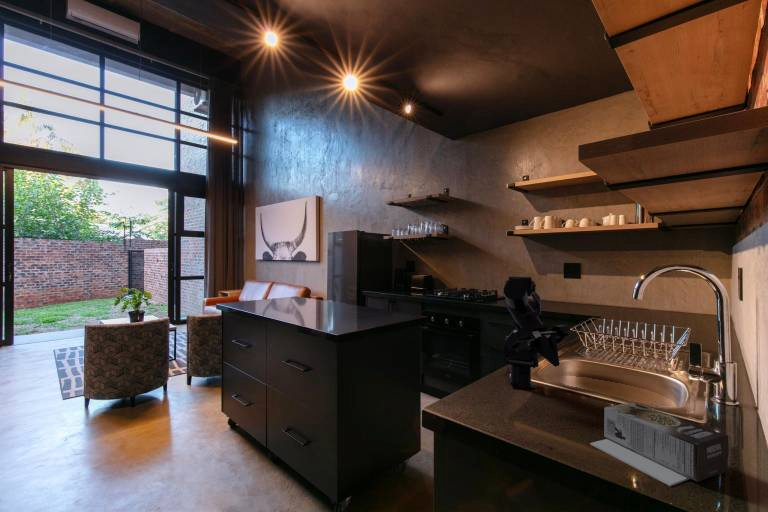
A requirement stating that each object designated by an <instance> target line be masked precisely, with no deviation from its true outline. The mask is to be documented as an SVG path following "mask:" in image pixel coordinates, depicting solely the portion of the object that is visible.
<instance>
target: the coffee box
mask: <svg viewBox="0 0 768 512" xmlns="http://www.w3.org/2000/svg"><path fill="white" fill-rule="evenodd" d="M603 412H604V415H603V416H604V417H603V418H604V420H603V422H604V425H603V426H604V427H603V429H604V431H603V432H604V433H603V434H604V435H603V436H604V437H605V439H610V440H612V441H614V442H616V443H618V444H620V445H623V446H625V447H627V448H629V449H631V450H633V451H635V452H637V453H639V454H641V455H643V456H645V457H647V458H649V459H651V460H653V461H655V462H657V463H659V464H661V465H664V466H666V467H668V468H670V469H672V470H674V471H676V472H678V473H680V474H682V475H684V476H686V477H688V478H690V479H689V480H693V481H695V482H697V483H698V482H702V481H705V480H708V479H710V478H713V477H716V476H719V475H721V474H724V473H727V472H728V471H729V466H728V460H729V453H730V452H729V451H730V450H729V448H730V447H729V443H730V442H729V436H728V434H726V433H722V432H719V431H716V430H713V429H710V428H707V427H705V426H702V425H698V424H696V423H693V422H690V421H687V420H684V419H681V418H679V417H675V416H672V415H670V414H667V413H664V412H662V411H659V410H656V409H653V408H651V407H648V406H644V405H642V404H638V403H637V402H636V403H635V402H633V401H632V402H627V403H621V404H615V405H611V406H605V407H604V411H603Z"/></svg>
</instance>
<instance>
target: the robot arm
mask: <svg viewBox="0 0 768 512" xmlns="http://www.w3.org/2000/svg"><path fill="white" fill-rule="evenodd" d="M536 291H537V284H536V282H535V280H533V278H532V276H509V277H508V279H506V280H505V284H504V286H503V295H504V298H505V301H506V308H507V310H508V311H509V313H510V314H511V317H512V318H513V319H514V321H515V323H514V328H515V329H513V330H512V331H511V332H510V333H509V334H508V335H505V338H504V342H505V343H504V346H503V347H504V348H503V349H504V350H503V354H504V355H503V356H504V365H509V367H510V369H509V371H510V375H509V376H510V379H506V383H508V385H510V388H512V389H521V390H523V389H525V390H526V389H527V390H528V389H529V390H530V389H531V390H536V386H535V385H534V384H533V383H532V368H533V369H536V368H539V355H540V356H542V357H543V358H544V359H545V360H546V361H548V362H549V363H550V364H551V365H552V366H553V367H556V368H557V367H559V366H560V364H561V363H560V357H559V351H558V345H559V344H561V343H562V342H563V341H564V340H566V338H568V337H569V335H571V334H572V333H573V332H572V330H571V328H570V327H569V326H568V325H564V324H559V325H554V326H552V328H551V329H550V330H548V329H549V328H550V326H549V325H548V324H547V323H543V322H542V321H541V319H540V317H539V316H540V315H541V314H542V303H541V302H542V301H541V297H540V295H539V294H538V293H537V292H536ZM529 297H532V300H531V299H529ZM547 330H548V331H547Z"/></svg>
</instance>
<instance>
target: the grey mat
mask: <svg viewBox="0 0 768 512" xmlns="http://www.w3.org/2000/svg"><path fill="white" fill-rule="evenodd" d="M589 444H590V446H593V447H594V448H596V449H597V450H600V451H601V452H603V453H605V454H607V455H609V456H611V457H613V458H615V459H617V460H619V461H621V462H622V463H625V464H627V465H629V466H631V467H632V468H634V469H636V470H638V471H640V472H642V473H644V474H646V475H647V476H650V477H651V478H654V479H655V480H657V481H660V482H661V483H662V484H663V483H664V484H665V485H667V486H669V487H673V486H675V485H678V484H681V483H682V482H685V481H689V480H691V479H690V478H688V477H686V476H684V475H682V474H680V473H678V472H676V471H674V470H672V469H670V468H668V467H666V466H664V465H661V464H659V463H657V462H655V461H653V460H651V459H649V458H647V457H645V456H643V455H641V454H639V453H637V452H635V451H633V450H631V449H629V448H627V447H625V446H623V445H620V444H618V443H616V442H614V441H612V440H610V439H608V438H605V439H601V440H597V441H594V442H590V443H589Z"/></svg>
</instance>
